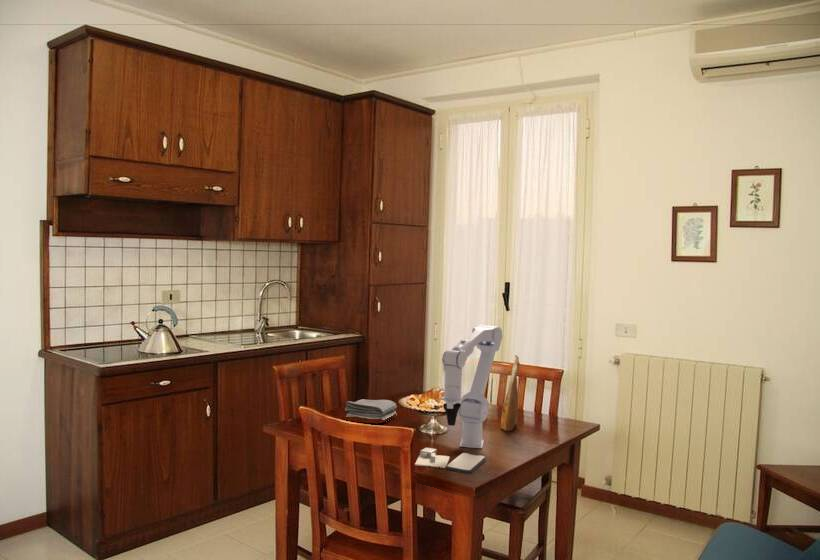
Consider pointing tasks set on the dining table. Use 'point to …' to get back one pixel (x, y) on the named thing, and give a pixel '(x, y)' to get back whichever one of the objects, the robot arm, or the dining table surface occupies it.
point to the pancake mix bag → (511, 400)
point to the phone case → (466, 462)
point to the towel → (371, 409)
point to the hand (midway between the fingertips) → (451, 425)
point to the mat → (439, 462)
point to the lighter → (429, 453)
